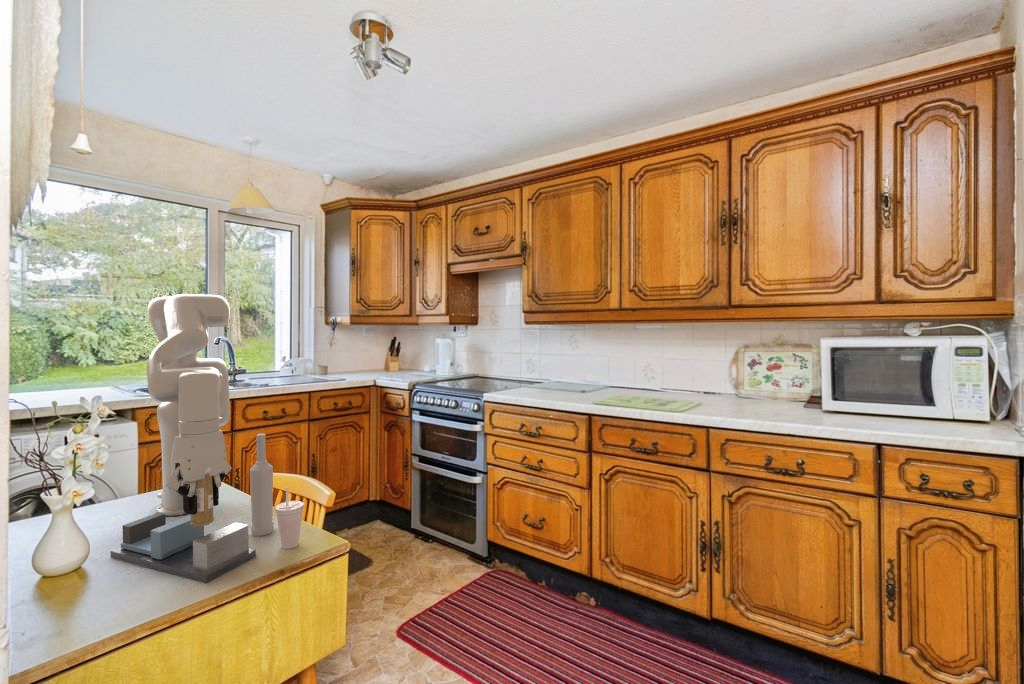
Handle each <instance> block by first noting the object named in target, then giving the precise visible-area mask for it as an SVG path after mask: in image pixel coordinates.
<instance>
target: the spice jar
mask: <svg viewBox="0 0 1024 684" xmlns="http://www.w3.org/2000/svg"><path fill="white" fill-rule="evenodd" d="M210 471H211V469H210V468H207V469H206V471H205V473H207V474H205V478H203V479H201V480H199V481H196V486H195V491H194V495H196V496H197V513H196V514H194V515H193V514H190V515H191V522H190V525H191V526H194V527H198V526H204V527H205V526H207V525H210V524H211V523H213V522H214V521H215V517H214V506H213V486H212V476H210V475H209V474H210V473H208V472H210Z"/></svg>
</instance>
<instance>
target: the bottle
mask: <svg viewBox="0 0 1024 684" xmlns="http://www.w3.org/2000/svg"><path fill="white" fill-rule="evenodd" d="M266 436H267V435H266V433H257V434H256V437H255V438H256V440H255V441H256V461H255V464H253V466H251V467H250V469H249V478H250V479H249V480H250V507H251V508H250V509H251V526H250V532H251V535H252V536H253V537H264V536H267V535H270V534H272V533H273V531H274V526H275V524H274V521H273V518H274V517H273V512H274V511H273V507H274V506H273V505H274V501H273V500H274V496H273V494H274V488H273V487H274V485H273V483H274V466H273V465H272V464H270V463H269V462H268V460H267V456H266V455H267V454H266V453H267V452H266V449H267V447H266V442H267V441H266V439H267V438H266Z"/></svg>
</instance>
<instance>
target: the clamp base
mask: <svg viewBox="0 0 1024 684" xmlns="http://www.w3.org/2000/svg"><path fill="white" fill-rule="evenodd" d="M249 536H250V535H249V524H245V523H241V522H233V523H230V524H228V525H226V526H223V527H221V528H219V529H217V530H215V531H212V532H211V533H208V534H204V536H203V537H201V538H199V539H196V540H194V541H193V545H192V546H190V547H188V548H186V549H183V550H181V551H179V552H177V553H175V554H172V555H170V556H168V557H166V558H163V559H161V560H160V559H156V558H152V557H151V555H147V554H143V553H139V552H135V551H131V550H127V549H123V548H121V546H120V547H117V548H114V549H111V550H110V551H109V552H110V555H109V556H110V558H111V559H115V560H118V561H123V562H127V563H131V564H133V565H136V566H137V565H138V566H141V567H145V568H147V569H148V568H149V569H153V570H156V571H159V572H163V573H167V574H170V575H175V576H178V577H182V578H186V579H190V580H193V581H197V582H200V583H205V584H207V583H209V582H212V581H213V580H215V579H217V578H219V577H221V576H222V575H224V574H226V573H228V572H230V571H231V570H234V569H235V568H237V567H240V566H241V565H242V564H243V565H244V564H245V563H246V562H248V561H250V560H253V558H256V557H257V550H256V549H253V548H250V547H249V546H250V543H249V541H250V540H249V539H250V537H249Z"/></svg>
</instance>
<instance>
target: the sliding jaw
mask: <svg viewBox="0 0 1024 684" xmlns="http://www.w3.org/2000/svg"><path fill="white" fill-rule="evenodd" d="M166 519H167V517H166V514H164V513H159V512H158V513H154V514H151V515H150V514H149V515H148V516H144V517H142V518H138V519H137V520H133V521H130V522H128V523H125V524H122V542H120V547H121V548H123V549H127V550H131V551H135V552H139V553H143V554H147V555H151V557H152V558H156V559H160V560H161V559H163V558H166V557H168V556H170V555H172V554H175V553H177V552H179V551H181V550H183V549H186V548H188V547H190V546H192V545H193V541H194V540H196V539H199V538H201V537H203V536H205V525H204V526H198V527H194V526H191V525H190V522H191V514H189V515H187V516H184V517H182V518H179V519H177V520H173V521H171V522H169V523H166V522H167V520H166Z"/></svg>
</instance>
